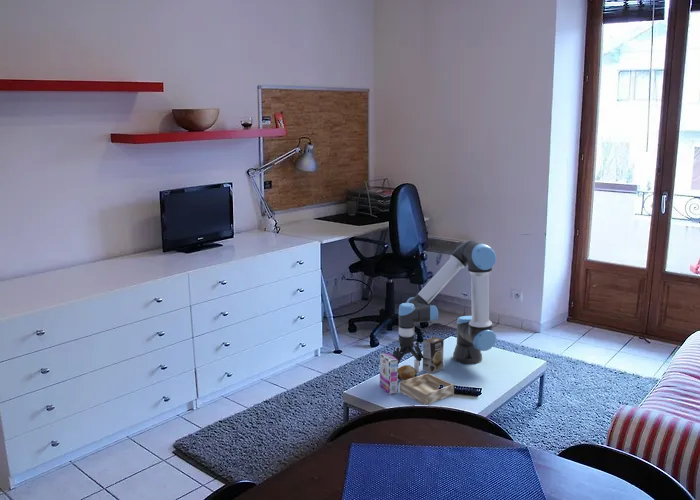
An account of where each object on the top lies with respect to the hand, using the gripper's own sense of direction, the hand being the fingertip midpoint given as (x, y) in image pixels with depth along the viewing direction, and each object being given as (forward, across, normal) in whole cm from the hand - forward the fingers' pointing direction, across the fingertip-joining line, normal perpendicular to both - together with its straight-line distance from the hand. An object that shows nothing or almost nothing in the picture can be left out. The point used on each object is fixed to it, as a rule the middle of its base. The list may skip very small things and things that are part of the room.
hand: (406, 375), depth 304 cm
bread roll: (+1, 0, 0) cm, 1 cm away
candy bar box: (+1, +16, +6) cm, 17 cm away
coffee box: (+1, -17, +1) cm, 17 cm away
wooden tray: (+1, +5, +20) cm, 21 cm away
